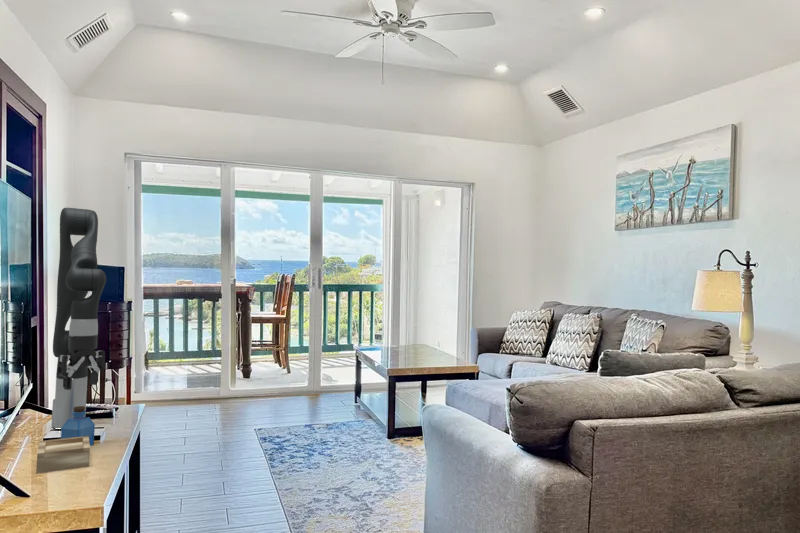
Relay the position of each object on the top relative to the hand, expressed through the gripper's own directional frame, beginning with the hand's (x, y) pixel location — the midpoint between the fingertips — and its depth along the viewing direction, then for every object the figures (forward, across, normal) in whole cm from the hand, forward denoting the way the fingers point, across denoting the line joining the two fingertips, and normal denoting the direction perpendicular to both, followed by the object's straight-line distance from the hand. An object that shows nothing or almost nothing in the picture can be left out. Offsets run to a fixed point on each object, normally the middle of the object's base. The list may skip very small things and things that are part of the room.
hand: (80, 387), depth 160 cm
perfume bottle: (+19, -1, -2) cm, 19 cm away
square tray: (+19, +10, +8) cm, 23 cm away
